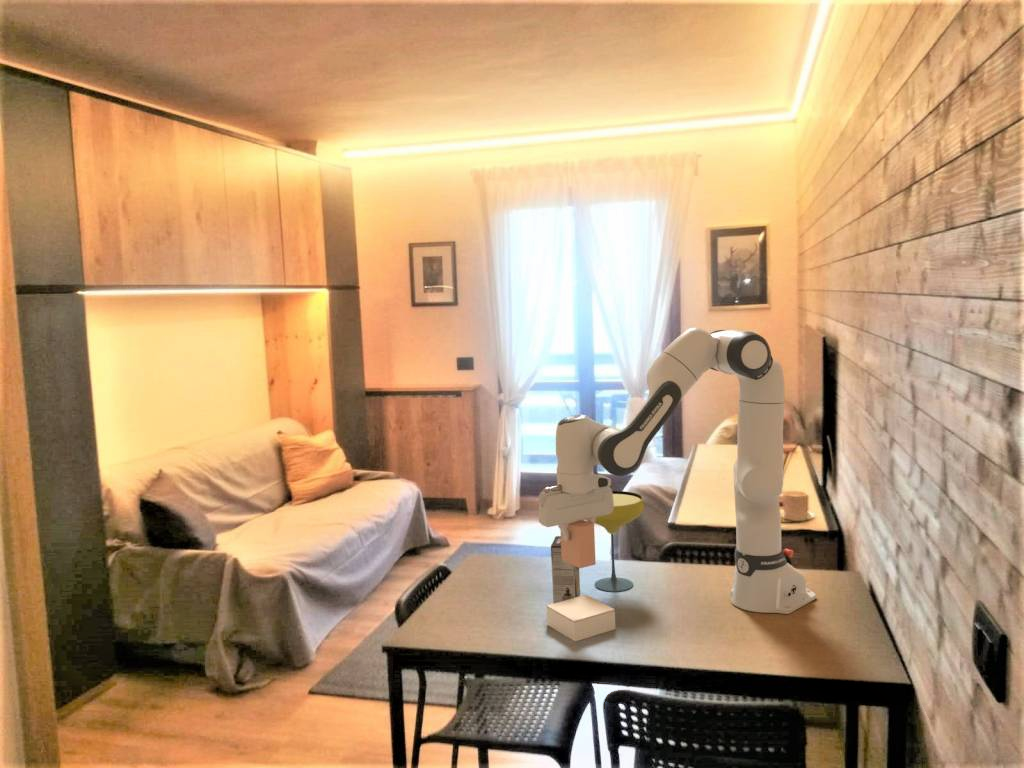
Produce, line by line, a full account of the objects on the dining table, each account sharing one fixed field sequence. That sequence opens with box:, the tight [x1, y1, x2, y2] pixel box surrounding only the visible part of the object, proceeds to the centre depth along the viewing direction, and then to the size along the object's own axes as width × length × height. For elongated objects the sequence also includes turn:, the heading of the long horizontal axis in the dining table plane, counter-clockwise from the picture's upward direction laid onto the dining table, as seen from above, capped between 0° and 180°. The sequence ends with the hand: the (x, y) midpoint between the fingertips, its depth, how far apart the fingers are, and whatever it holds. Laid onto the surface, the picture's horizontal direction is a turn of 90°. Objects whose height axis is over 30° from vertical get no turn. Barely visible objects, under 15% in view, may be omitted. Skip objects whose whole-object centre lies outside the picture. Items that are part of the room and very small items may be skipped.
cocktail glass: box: [594, 490, 645, 593], centre depth 217 cm, size 18×18×25 cm
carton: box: [560, 520, 596, 569], centre depth 189 cm, size 4×8×10 cm, turn 30°
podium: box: [546, 594, 616, 642], centre depth 190 cm, size 12×12×5 cm
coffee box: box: [550, 535, 581, 604], centre depth 209 cm, size 9×6×16 cm
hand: (577, 537), depth 188 cm, fingers closed on carton, 4 cm apart
